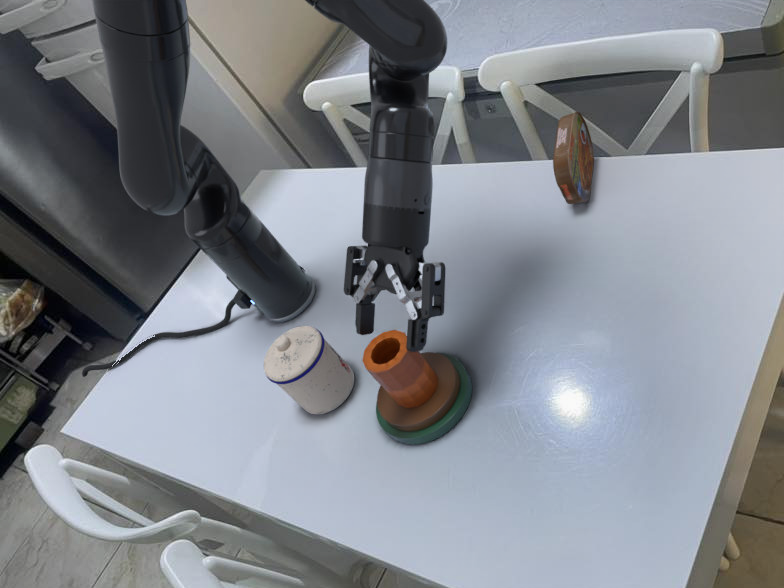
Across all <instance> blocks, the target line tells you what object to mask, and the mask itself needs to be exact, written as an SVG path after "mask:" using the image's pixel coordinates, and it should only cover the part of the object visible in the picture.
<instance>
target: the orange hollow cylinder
mask: <svg viewBox="0 0 784 588" xmlns="http://www.w3.org/2000/svg"><path fill="white" fill-rule="evenodd" d="M406 344H407V333H405V332H404V331H401V330H397V329H392V330H387V331H383V332H381V333H380V334H378V335H377V336H375V337H374V338H372V339H371V341H370V342H369V343H368V345H367V346H366V347H365V349H364V351H363V354H362V355H363V356H362V364H363V365H364V367H365V369H366V371H367V372H368V373H369V374H370V375H371V376H372V377H373V379H374V380H375V381H376V382H377V383H378V384H379V385H380V386H382V387H383V388H384V389H385V390H386V391H387V393H388V394H389V395H390V396H391V397H392V398H393V399H394V400H395V401H396V403H397V404H398V405H400V406H403V407H405V408H412V407H417V406H420V405H421V404H423V403H424V402H426V401H427V400H429V399H430V398H431V396H432V395H433V393H434V392H435V390H436V388H437V381H438V377H437V375H436V374H435V372H434V370H433V369H432V368H431V366H430V365H429V364H428V362H427V361H426V360H425V359H424V357H423V356H422V355H421V353H422V352H421V351H416V352H411V351H408V350H407V349H406Z"/></svg>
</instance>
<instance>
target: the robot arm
mask: <svg viewBox="0 0 784 588" xmlns="http://www.w3.org/2000/svg"><path fill="white" fill-rule="evenodd" d="M91 1H92V8H93V13H94V18H95V24H96V27H97V34H98V38H99V42H100V45H101V50H102V54H103V59H104V65H105V70H106V75H107V80H108V86H109V90H110V96H111V100H112V106H113V110H114V115H115V122H116V123H115V124H116V132H117V133H116V134H117V148H118V167H119V175H120V176H119V177H120V180H121V183H122V186H123V187H124V191H126V193H127V195H128V196H129V197H130V199H131V200H132V201H133V202H134V203H135V204H137V206H139V207H140V208H142V209H143V210H144V211H146V212H148V213H150V214H153V215H156V216H162V217H165V216H172V215H176V214H178V213H180V212H182V211H183V215H184V217H183V218H184V230H185V233H186V235H187V236H188V238H189V239H190V240H191V241H192V242H193V244H195V245H196V246H197V247H198V248H199V249H200V250H201V252H203V253H204V254H205V255H206V256H207V257H208V259H210V260H211V261H212V262H213V263H214V264H215V266H217V267H218V268H219V269H220V271H222V272H223V273H224V274H225V275H226V276H225V277H226V279H227V280H228V281H229V282H230V283H231V285H233V287H235V289H237V291H236V293H235V295H234V296H233V298H232V299H231V300H230V301H229V302H228V303H227V305H226V307H225V314H224V318H223V319H222V320H221V321H220V322H218V323H216V324H214V325H211V326H207V327H203V328H198V329H191V330H186V331H181V332H173V331H172V332H171V331H164V332H158V333H155V334H153V336H154V335H155V337H152V338H150V339H147V340H146V341H144V342H142V343H141V344H139V345H138V346H137V347H135V348H134V349H133V350H132V351H130V352H129V353H128V354H126V355H125V356H124V357H122V358H121V360H120V361H119V360H118V361H117V362H116V360H117V359H115V360H113V361H110V362H108V363H104V364H92V365H87V366H85V367H84V368H83V369H82V371H81V376H82V378H85V377H87V376H88V374H89V372H91V371H103V370H108V369H109V370H110V369H112V368H114V367H116V366H118V365H120V364H121V363H124V361H126V360H127V359H129V358H130V357H131V356H133V355H134V354H135V353H136V352H138V351H139V350H140V349H142V348H143V347H145V346H146V345H148V344H150V343H151V342H153V341H156V340H159V339H162V338H175V339H180V338H182V339H183V338H189V337H192V336H199V335H204V334H209V333H212V332H215V331H217V330H220V329H221V328H223V327H225V326H226V325H227V324H228V323H229V322H230V321H231V318H232V310H233V309H234V306H235V305H237V306H238V307H239V308H240V309H241V310H249V309H251V307H252V306H253V307H254V308H255V309H256V310H257V311H258V312H259V313H260V314H261V315H262V316H265V317H266V318H267V319H268V320H269V321H270V322H273V323H284V322H285V323H286V322H288V321H291V320H292V319H294V318H296V317H298V316H299V315H301V313H303V312H304V311H305V310H307V308H308V307H309V305H311V303H312V301H313V299H314V297H315V294H316V284H315V282H314V281H313V279H312V278H311V277H310V276H308V275H307V271H306V269H304V267H303V266H301V265H300V264H298V262H297V261H296V260H295V259H294V258H293V257H292V256H291V254H290V253H289V252H288V251H287V250H286V248H284V246H283V245H282V244H281V243H280V241H278V239H277V238H276V237H275V236H274V235H273V234H272V233H271V231H270V229H268V228H267V227H266V225H265V224H264V223H263V222H262V220H260V219H259V217H258V216H257V215H256V214H255V212H254V211H253V210H252V209H251V208H250V207H249V206H248V205H247V204H246V203H245V201H244V200H243V197H242V194H241V191H240V189H239V186H238V185H237V183H236V182H235V180H234V179H233V178H232V176H231V175H230V174H229V172H228V171H227V170H226V168H225V167H224V166H223V164H222V163H221V162H220V160H219V159H218V158H217V157H216V155H214V153H213V152H212V151H211V149H210V148H209V146H207V144H206V143H205V142H204V141H203V140H202V139H201V138H200V137H199V136H198V135H197V134H196V133H194V132H193V131H192V130H190V129H189V128H187V127H186V126H184V125H182V124H181V123H182V116H183V109H184V104H185V99H186V93H187V87H188V80H189V74H190V67H191V36H190V34H191V33H190V25H189V23H190V22H189V11H188V4H187V0H91ZM304 2H306V3H307V4H308V5H309V6H311V8H312V7H313V9H314V10H315V11H317V12H318V13H319V14H320V15H322V16H323V17H324V18H325V19H327V20H329V21H331V22H333V23H336V24H340V25H343V26H344V27H347V29H349V30H350V31H351V32H353V33H354V34H355V35H356V36H358V37H359V38H360V39H361V40H362V41H364V42H365V43H366V44H367V45H369V46H368V82H369V96H370V107H371V110H370V111H371V112H370V121H369V131H368V153H367V155H368V157H367V162H366V163H367V165H366V168H365V174H364V186H363V187H364V188H363V205H362V206H363V207H362V229H361V231H362V232H361V239H362V241H363V242H364V243H366V244H367V245H349V246H347V247H346V255H345V256H346V257H345V269H344V280H343V281H344V282H343V293H344V295H345V296H350V297H351V298H352V299H353V303H354V304H355V320H354V321H355V322H354V326H355V331H356V334H357V335H361V336H367V335H371V334H373V333H374V330H375V316H376V315H375V314H376V313H375V312H376V303H374V302H375V300H376V299H377V297H378V295H380V293H381V292H382V291H387V292H388V293H390V294H393V295H397V298H398V300H399V301H400V302H401V303H402V304H403V305H404V306H405V309H406V311H407V313H408V316H409V318H408V319H407V328H406V329H407V330H406V331H407V332H406V335H407V344H406V349H407V350H408V351H411V352H416V351H419V352H421V351H423V350H424V348H425V347H426V345H427V341H428V328H429V326H428V325H429V321H430V319H431V318H436V317H442V316H444V313H445V297H446V272H447V271H446V268H447V267H446V264H445V263H444V262H442V261H441V262H435V261H434V262H427V261H425V257H424V250H425V248H426V247H427V246H428V245H429V243H430V230H431V229H430V227H431V215H432V201H433V186H434V182H433V157H434V143H435V118H434V114H433V112H432V110H431V109H430V107H429V94H430V93H429V92H430V91H429V89H430V82H429V81H430V73H432V72H434V71H435V70H436V69H437V68H438V67H439V66H440V65H441V64H442V62H443V60H444V59H445V57H446V54H447V50H448V34H447V30H446V27H445V25H444V23H443V21H442V19H441V17H440V16H439V14H438V13H437V12H436V10H434V9H433V7H432V6H431V5H430V4H429V3H428V2H427V1H426V0H304ZM355 277H356V283H355ZM412 289H413V291H412ZM115 362H116V363H115ZM118 362H119V363H118ZM114 363H115V364H114ZM117 363H118V364H117ZM113 364H114V365H113ZM116 364H117V365H116ZM112 365H113V367H112ZM115 365H116V366H115Z"/></svg>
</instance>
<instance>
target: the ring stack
mask: <svg viewBox="0 0 784 588" xmlns="http://www.w3.org/2000/svg"><path fill="white" fill-rule="evenodd" d="M420 353H421V355H422V356H423V357H424V359H425V360H426V361H427V362H428V364H429V365H430V366H431V368H432V369H433V370H434V372H435V374H436V375H437V377H438V381H437V388H436V390H435V392H434V393H433V395H432V396H431V398H430V399H429V400H427V401H426V402H424V403H423V404H421V405H420V406H417V407H412V408H405V407H403V406H400V405H398V404H397V403H396V401H395V400H394V399H393V398H392V397H391V396H390V395H389V394H388V393H387V391H386V390H385V389H384V388H383V387H382V386H381V385H380V386H379V388H378V392H377V396H376V405H375V415H376V419H377V423H378V424H379V426H380V427H381V429H382V430H383V431H384V432H385V433H386V434H387V435H388V436H389V437H390V438H391V439H392V440H394V441H396V442H398V443H401V444H405V445H422V444H426V443H429V442H432V441H435V440H437V439H439V438H441V437H442V436H444V435H445V434H447V433H448V432H449V431H451V429H453V428H454V427H455V426H456V425H457V424H458V423H459V421H461V419H462V418H463V416H464V415H465V413H466V411H467V410H468V407H469V405H470V402H471V400H472V394H473V383H472V378H471V376H470V374H469V372H468V370H467V369H466V368H465V366H464V365H463V363H462V361H460V360H459V359H458V358H456V357H455V356H453V355H451V354H448V353H445V352H437V351H436V352H433V351H425V352H420Z"/></svg>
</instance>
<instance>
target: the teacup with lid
mask: <svg viewBox="0 0 784 588" xmlns="http://www.w3.org/2000/svg"><path fill="white" fill-rule="evenodd" d="M263 371H264V374H265V376H266V378H267V380H269V381H270V382H271V383H273V384H275V385H277V386H278V387H279V388H280V389H281V390H282V391H284V392H285V393H286V394H287V395H288V396H289V397H291V399H292V400H293V401H294V402H296V403H297V404H298V405H299V406H300V407H301V408H302V409H303V410H304V411H306V412H307V413H309V414H312V415H324V414H327V413H330V412H332V411H334V410H336V409H337V408H339V407H340V406H341V405H342V404H343V403H344V402H345V401H346V400H347V398H348V397H349V396H350V394H351V392H352V390H353V388H354V385H355V373H354V371H353V369H352V367H351V366H350V364H348V363H347V361H345V359H344V358H343V357H342V356H341V355H340V354H339V353H338V352H337V351H336V350H335V348H333V347H332V345H331V344H330V343H329V342H328V341H327V340H326V339H325V337H324V335H323V333H322V332H321V331H320V330H319V329H317V328H315V327H312V326H309V325H301V326H296V327H293V328H290V329H289V330H287V331H285V332H284V333H282V334H281V335H280V336H278V337H276V339H275V340H274V341H273V343H272V344H271V345H270V347H269V348H268V349H267V352H266V354H265V356H264V359H263Z"/></svg>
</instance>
